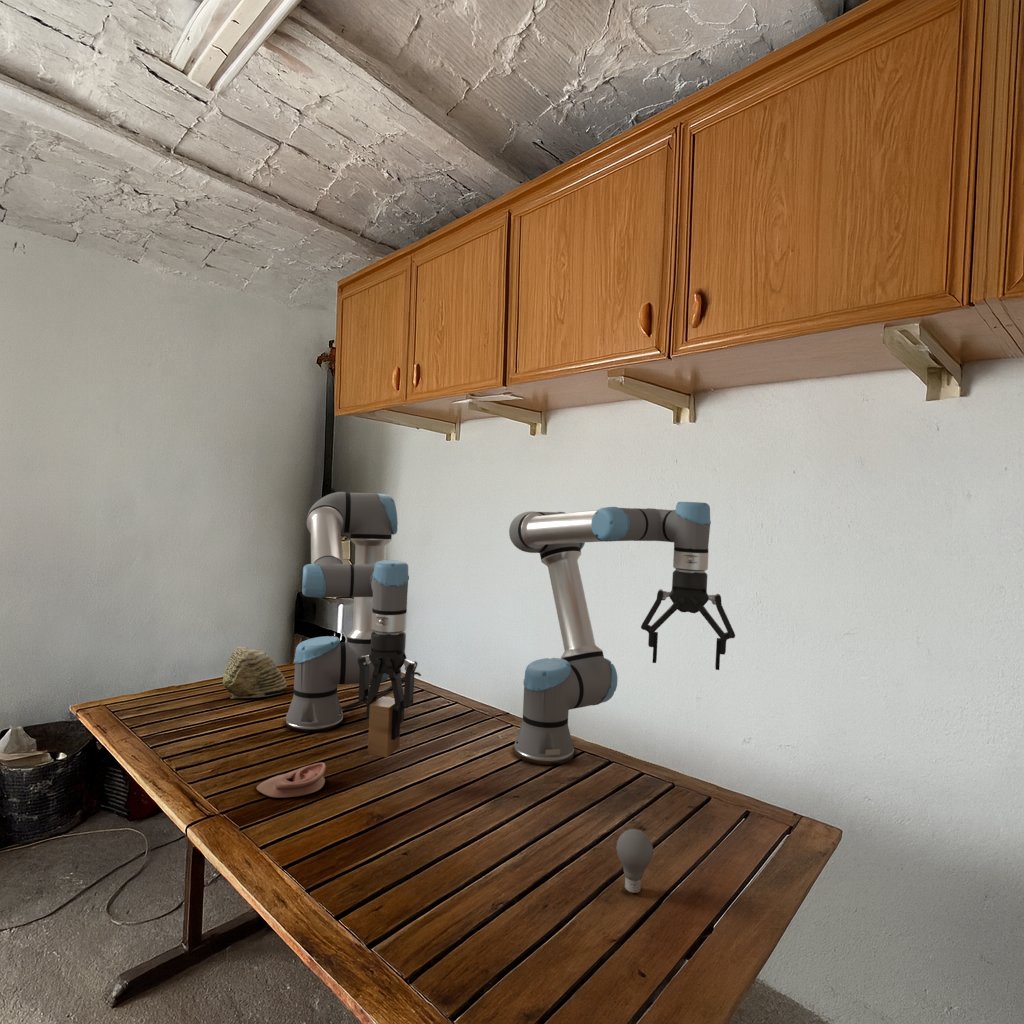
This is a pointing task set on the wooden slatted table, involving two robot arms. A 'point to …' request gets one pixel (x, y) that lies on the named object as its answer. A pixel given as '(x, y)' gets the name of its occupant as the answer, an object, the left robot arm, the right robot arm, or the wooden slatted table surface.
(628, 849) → the light bulb
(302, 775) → the anatomical model
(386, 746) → the brick
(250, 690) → the fossil
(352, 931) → the wooden slatted table surface
